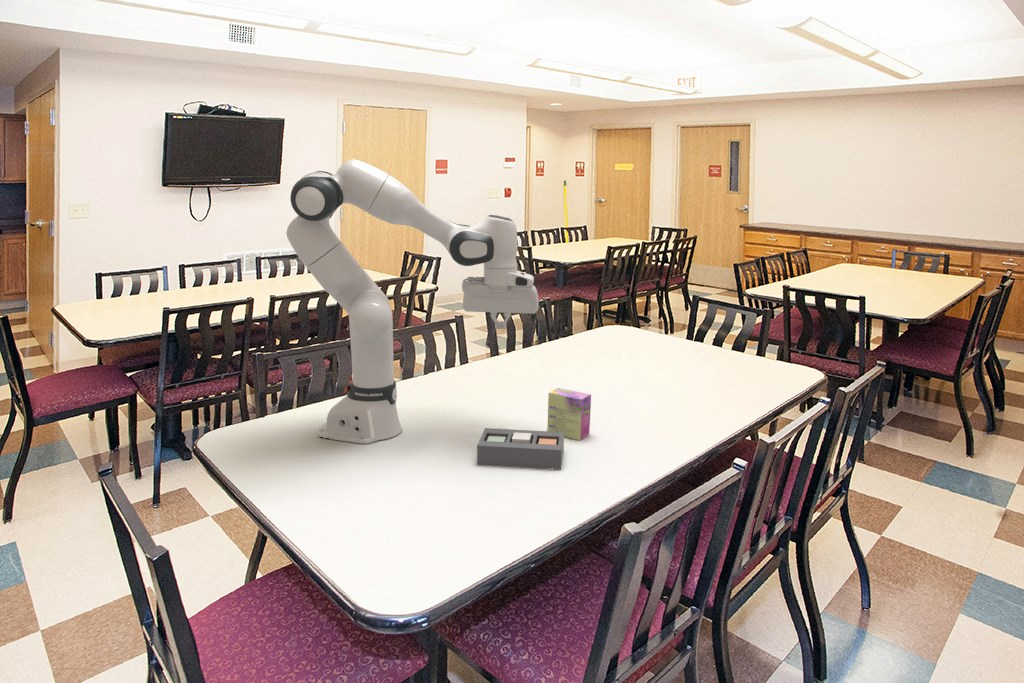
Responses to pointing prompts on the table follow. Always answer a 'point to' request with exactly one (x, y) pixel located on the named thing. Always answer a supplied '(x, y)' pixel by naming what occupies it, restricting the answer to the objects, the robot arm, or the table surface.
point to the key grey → (521, 438)
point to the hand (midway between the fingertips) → (500, 328)
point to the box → (569, 413)
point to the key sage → (496, 439)
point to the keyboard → (520, 449)
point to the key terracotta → (548, 441)
